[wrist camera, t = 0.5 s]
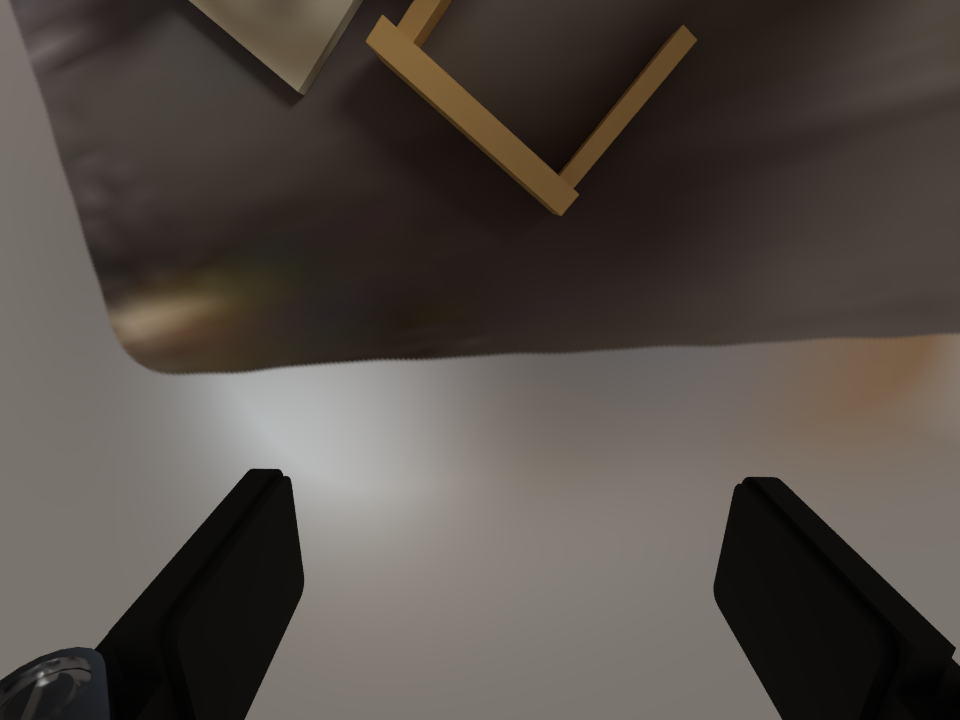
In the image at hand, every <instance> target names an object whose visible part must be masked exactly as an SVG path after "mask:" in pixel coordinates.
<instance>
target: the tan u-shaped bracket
mask: <svg viewBox="0 0 960 720" xmlns="http://www.w3.org/2000/svg"><path fill="white" fill-rule="evenodd" d="M451 2H452V0H414V1H413V3H412V4H411V6H410V7H409V9H408V10H407V12H406V14H405V15H404V17H403V18H402V20H401V21H400V23H399V24H398V26H397V27H396V26H395V25H393V24H392V23H391V22H390V21H389V20H388V19H387V18H386V17H385V16H384V15H383V14H382V16H381V18H380V19H379V21H378V22H377V24H376V26H375V27H374V29H373V30H372V32H371V33H370V35H369V37H368V38H367V40H366V43H367V44H368V45H369V46H370V48H371V49H372V50H373V51H374V52H375V54H376V55H377V56H378V57H379V59H380V60H381V61H382V62H383V63H384V64H385V65H386V66H387V67H388V68H389V69H391V70H392V71H393V72H394V73H395V74H396V75H397V76H398V77H400V78H401V79H402V80H403V81H404V82H405V83H406V84H407V85H409V86H410V87H411V88H412V89H413V90H414V91H415V92H416V93H418V94H419V95H420V96H421V97H422V98H423V99H424V100H425V101H427V102H428V103H429V104H430V105H431V106H432V107H433V108H434V109H436V110H437V111H438V112H439V113H440V114H441V115H442V116H443V117H445V118H446V119H447V120H448V121H449V122H450V123H451V124H452V125H454V126H455V127H456V128H457V129H458V130H459V131H460V132H461V133H463V134H464V135H465V136H466V137H467V138H468V139H469V140H470V141H471V142H473V143H474V144H475V145H476V146H477V147H478V148H479V149H480V150H482V151H483V152H484V153H485V154H486V155H487V156H488V157H489V158H491V159H492V160H493V161H494V162H495V163H496V164H497V165H498V166H500V167H501V168H502V169H503V170H504V171H505V172H506V173H507V174H509V175H510V176H511V177H512V178H513V179H514V180H515V181H516V182H518V183H519V184H520V185H521V186H522V187H523V188H524V189H525V190H527V191H528V192H529V193H530V194H531V195H532V196H533V197H534V198H536V199H537V200H538V201H539V202H540V203H541V204H542V205H543V206H545V207H546V208H547V209H548V210H549V211H550V212H551V213H553V214H556V215H559V216H562V215H563V213H564V212H565V211H566V210H567V209H568V207H569V206H570V205H571V204H572V203H573V201H574V200H575V199H576V198H577V197H578V196H579V194H578V193H577V192H576V191H575V190H574V187H575V186H576V185H577V184H578V183H579V181H580V180H581V179H582V178H583V177H584V175H585V174H586V173H587V172H588V171H589V169H590V168H591V167H592V166H593V165H594V163H595V162H596V161H597V160H598V159H599V157H600V156H601V155H602V154H603V153H604V151H605V150H606V149H607V148H608V147H609V145H610V144H611V143H612V142H613V141H614V139H615V138H616V137H617V136H618V135H619V133H620V132H621V131H622V130H623V129H624V127H625V126H626V125H627V124H628V123H629V121H630V120H631V119H632V118H633V117H634V115H635V114H636V113H637V112H638V111H639V109H640V108H641V107H642V106H643V105H644V103H645V102H646V101H647V100H648V99H649V97H650V96H651V95H652V94H653V93H654V91H655V90H656V89H657V88H658V87H659V85H660V84H661V83H662V82H663V81H664V79H665V78H666V77H667V76H668V75H669V73H670V72H671V71H672V70H673V69H674V67H675V66H676V65H677V64H678V63H679V61H680V60H681V59H682V58H683V57H684V55H685V54H686V53H687V52H688V51H689V49H690V48H691V47H692V46H693V45H694V43H695V42H696V41H697V39H696V38H695V37H694V36H693V35H692V34H691V32H690V31H689V30H688V29H687V28H686V27H685V26H684V25H682V26H681V27H680V28H679V29H678V30H676V31H675V32H674V33H673V34H672V35H671V36H670V37H669V38H668V39H667V41H666V42H665V43H664V44H663V46H662V47H661V48H660V49H659V51H658V52H657V53H656V54H655V55H654V57H653V58H652V59H651V60H650V62H649V63H648V64H647V65H646V66H645V68H644V69H643V70H642V71H641V73H640V74H639V75H638V76H637V78H636V79H635V80H634V81H633V82H632V84H631V85H630V86H629V87H628V89H627V90H626V91H625V92H624V93H623V95H622V96H621V97H620V98H619V100H618V101H617V102H616V103H615V105H614V106H613V107H612V108H611V109H610V111H609V112H608V113H607V114H606V116H605V117H604V118H603V119H602V120H601V122H600V123H599V124H598V125H597V127H596V128H595V129H594V130H593V132H592V133H591V134H590V135H589V136H588V138H587V139H586V140H585V141H584V143H583V144H582V145H581V146H580V147H579V149H578V150H577V151H576V152H575V154H574V155H573V156H572V157H571V159H570V160H569V161H568V162H567V163H566V165H565V166H564V167H563V168H562V170H561V171H560V172H559V173H558V174H556V173H555V172H554V171H553V170H552V169H551V168H550V167H549V166H548V165H547V164H545V163H544V162H543V161H542V160H541V159H540V158H539V157H538V156H537V155H536V154H535V153H533V152H532V151H531V150H530V149H529V148H528V147H527V146H526V145H525V144H524V143H523V142H521V141H520V140H519V139H518V138H517V137H516V136H515V135H514V134H513V133H512V132H510V131H509V130H508V129H507V128H506V127H505V126H504V125H503V124H502V123H501V122H500V121H498V120H497V119H496V118H495V117H494V116H493V115H492V114H491V113H490V112H489V111H488V110H486V109H485V108H484V107H483V106H482V105H481V104H480V103H479V102H478V101H477V100H475V99H474V98H473V97H472V96H471V95H470V94H469V93H468V92H467V91H466V90H465V89H463V88H462V87H461V86H460V85H459V84H458V83H457V82H456V81H455V80H454V79H453V78H451V77H450V76H449V75H448V74H447V73H446V72H445V71H444V70H443V69H442V68H440V67H439V66H438V65H437V64H436V63H435V62H434V61H433V60H432V59H431V58H430V57H428V56H427V55H426V54H425V53H424V52H423V51H422V50H421V49H420V48H421V47H422V45H423V44H424V42H425V41H426V39H427V38H428V36H429V35H430V33H431V32H432V30H433V29H434V27H435V26H436V24H437V23H438V21H439V20H440V18H441V17H442V15H443V14H444V12H445V11H446V9H447V8H448V6H449V5H450V3H451Z"/></svg>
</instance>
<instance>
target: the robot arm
mask: <svg viewBox="0 0 960 720" xmlns="http://www.w3.org/2000/svg"><path fill="white" fill-rule="evenodd" d="M301 558H302V557H301V550H300V543H299V536H298V528H297V520H296V514H295V505H294V498H293V490H292V484H291V479H290V477H288V476H283V473H282V472H281V470H279V469H250V470H249V471H248V472H247V473H246V474H245V475H244V477H243V478H242V479H241V480H240V481H239V482H238V483H237V484H236V486H235V487H234V488H233V489H232V490H231V492H230V493H229V494H228V495H227V496H226V497H225V498H224V500H223V501H222V502H221V503H220V504H219V505H218V506H217V508H216V509H215V510H214V511H213V512H212V513H211V514H210V516H209V517H208V518H207V519H206V520H205V522H204V523H203V524H202V525H201V526H200V527H199V528H198V529H197V531H196V532H195V533H194V534H193V535H192V536H191V538H190V539H189V540H188V541H187V542H186V543H185V544H184V546H183V547H182V548H181V549H180V550H179V552H177V554H176V555H175V556H174V557H173V558H172V560H171V561H170V562H169V563H168V564H167V565H166V566H165V568H164V569H163V570H162V571H161V572H160V573H159V575H158V576H157V577H156V578H155V579H154V580H153V581H152V582H151V584H150V585H149V586H148V587H147V588H146V589H145V591H144V592H143V593H142V594H141V595H140V596H139V598H138V599H137V600H136V601H135V602H134V603H133V604H132V606H131V607H130V608H129V609H128V610H127V611H126V612H125V614H124V615H123V616H122V617H121V618H120V619H119V621H118V622H117V623H116V624H115V625H114V626H113V627H112V629H111V630H110V631H109V633H108V634H107V635H106V637H105V638H104V639H103V640H102V641H101V643H100V644H99V645H98V646H97V647H96V648H95V649H94V650H93V649H91V648H84V647H74V648H68V649H61V650H58V651H55V652H52V653H49V654H46V655H44V656H41V657H38V658H37V659H35V660H33V661H31V662H29V663H27V664H25V665H23V666H21V667H19V668H18V669H16V670H15V671H13V672H12V673H11V674H9V675H7V676H6V677H5V678H3V679H2V680H0V720H244V719H245V717H246V715H247V713H248V711H249V708H250V706H251V704H252V702H253V700H254V698H255V696H256V693H257V691H258V688H259V687H260V685H261V683H262V680H263V678H264V676H265V674H266V672H267V669H268V667H269V665H270V663H271V661H272V659H273V657H274V654H275V652H276V650H277V648H278V646H279V644H280V641H281V639H282V637H283V635H284V633H285V631H286V628H287V626H288V624H289V622H290V620H291V618H292V615H293V613H294V611H295V609H296V607H297V604H298V603H299V600H300V598H301V595H302V592H303V587H304V572H303V565H302V559H301ZM714 597H715V600H716V603H717V605H718V607H719V609H720V610H721V612H722V614H723V616H724V617H725V619H726V621H727V623H728V625H729V626H730V628H731V630H732V632H733V633H734V635H735V637H736V638H737V640H738V642H739V644H740V646H741V647H742V649H743V651H744V653H745V654H746V656H747V658H748V660H749V661H750V663H751V665H752V667H753V669H754V670H755V672H756V674H757V676H758V677H759V679H760V681H761V683H762V684H763V686H764V688H765V690H766V692H767V693H768V695H769V697H770V699H771V700H772V702H773V704H774V706H775V707H776V709H777V711H778V713H779V714H780V716H781V718H782V720H960V666H959V665H958V664H957V663H956V662H955V661H954V660H953V659H952V656H953V654H954V651H955V649H956V648H955V647H954V646H953V645H952V644H951V643H950V642H949V641H948V640H947V639H946V638H945V637H944V636H943V635H942V634H941V633H940V632H939V631H938V630H936V628H935V627H934V626H932V625H931V624H930V623H929V622H928V621H927V620H926V619H925V618H924V617H923V616H922V615H921V614H920V613H919V612H918V611H917V610H916V609H915V608H914V607H913V606H912V605H911V604H910V603H909V602H907V601H906V600H905V599H904V598H903V597H902V596H901V595H900V594H899V593H898V592H897V591H896V590H895V589H894V588H893V587H892V586H891V585H890V584H889V583H888V582H887V581H886V580H885V579H883V578H882V577H881V576H880V575H879V574H878V573H877V572H876V571H875V570H874V569H873V568H872V567H871V566H870V565H869V564H868V563H867V562H866V561H865V560H864V559H862V557H861V556H860V555H859V554H857V553H856V552H855V551H854V550H853V549H852V548H851V547H850V546H849V545H848V544H847V543H846V542H845V541H844V540H843V539H842V538H841V537H840V536H839V535H838V534H836V532H835V531H833V530H832V529H831V528H830V527H829V526H828V525H827V524H826V523H825V522H824V521H823V520H822V519H821V518H820V517H819V516H818V515H817V514H816V513H815V512H814V511H813V510H812V509H811V508H809V507H808V506H807V505H806V504H805V503H804V502H803V501H802V500H801V499H800V498H799V497H798V496H797V495H796V494H795V493H794V492H793V491H792V490H791V489H790V488H789V487H788V486H787V485H785V484H784V483H783V482H782V481H781V480H780V479H778V478H775V477H747V478H745V479H744V480H743V482H742V484H737V485H736V487H735V489H734V492H733V497H732V502H731V506H730V511H729V516H728V521H727V525H726V530H725V534H724V539H723V544H722V548H721V553H720V558H719V562H718V567H717V572H716V577H715V581H714Z"/></svg>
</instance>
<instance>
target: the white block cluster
mask: <svg viewBox="0 0 960 720" xmlns="http://www.w3.org/2000/svg"><path fill="white" fill-rule="evenodd" d="M189 1H190V2H191V3H193V4H194V5H195V6H196V7H197V8H199V9H200V10H201V11H202V12H203V13H205V14H206V15H207V16H208V17H209V18H210V19H212V20H213V21H214V22H215V23H216V24H218V25H219V26H220V27H221V28H222V29H224V30H225V31H226V32H227V33H228V34H230V35H231V36H232V37H233V38H234V39H235V40H237V41H238V42H239V43H240V44H241V45H243V46H244V47H245V48H246V49H247V50H249V51H250V52H251V53H252V54H253V55H255V56H256V57H257V58H258V59H259V60H260V61H262V62H263V63H264V64H265V65H266V66H268V67H269V68H270V69H271V70H272V71H274V72H275V73H276V74H277V75H278V76H280V77H281V78H282V79H283V80H284V81H286V82H287V83H288V84H289V85H290V86H291V87H293V88H294V89H295V90H296V91H297V92H299V93H301V94H303V95H306V93H307V92H308V90H309V88H310V87H311V85H312V83H313V82H314V80H315V79H316V77H317V75H318V74H319V72H320V70H321V69H322V67H323V66H324V64H325V62H326V61H327V59H328V57H329V56H330V54H331V52H332V51H333V49H334V48H335V46H336V44H337V43H338V41H339V39H340V38H341V36H342V35H343V33H344V31H345V30H346V28H347V26H348V25H349V23H350V21H351V20H352V18H353V17H354V15H355V13H356V12H357V10H358V8H359V7H360V5H361V4H362V2H363V0H189Z"/></svg>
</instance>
